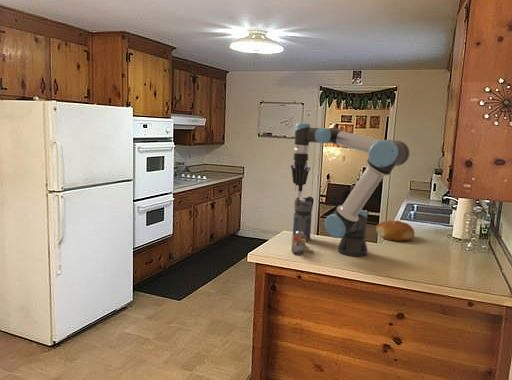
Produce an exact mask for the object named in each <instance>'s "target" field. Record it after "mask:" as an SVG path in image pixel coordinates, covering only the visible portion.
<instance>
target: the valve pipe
mask: <svg viewBox="0 0 512 380" xmlns="http://www.w3.org/2000/svg"><path fill="white" fill-rule="evenodd" d="M293 238H294V235H293V234H292V237H291V250H290V251H291V252H292V254H293V255H303V253H304V252H306V247H307V246H306V245H307V244H306V243H307V240H306V236H305V235H303V236H301V238H300V241H293Z"/></svg>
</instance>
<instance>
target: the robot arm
mask: <svg viewBox="0 0 512 380" xmlns="http://www.w3.org/2000/svg"><path fill="white" fill-rule="evenodd" d="M310 143H315V144H317V143H318V144H333V145H336V146H340V147H346V148H349V149H352V150H355V151H360V152H363V153H367V155H368V159H367V160H366V165H367V167H366V168H365V170H364V171H363V173H362V174H361V176H360V178H359V179H358V180H357V182H356V183H355V185H354V187H353V188H352V189H351V191H350V193H349V194H348V195H347V197H346V199H345V201H344V202H343V204H341V205H338V206H337V207H336V209H335V210H334V211H333V212H332V214H329V215H327V217H326V218H325V221H324V228H325V231H326V233H327V234H328V235H329V236H330V237H332V238H334V239H340V238H341V239H340V241H339V244H338V247H337V252H338V253H339V254H341V253H342V255H344V256H350V257H365V256H367V255H368V252H369V251H368V246H367V245H368V244H367V241H366V234H367V223H368V211H366V210H363V208H364V206H365V205H366V203H367V202H368V200H369V199H370V198H371V196H372V195H373V193H374V192H375V190H376V188H377V187H378V186H379V183H381V181H382V179H383V178H384V177H385V176H389V175H390V174H391V172H392V171H393V170H394V168H395V167H399V166H402V165H404V164H405V163H406V162H407V161H408V160H409V158H410V155H411V154H410V152H411V151H410V148H409V146H408V145H407V144H406V143H405V142H403V141H401V140H391V139H383V140H381V139H378V138H374V137H373V138H372V137H370V136H369V137H368V136H365V135H361V134H357V133H352V132H349V131H343V130H341V129H337V128H325V127H311V125H310V123H301V122H300V123H299V122H298V123H296V125H295V130H294V149H293V150H294V151H293V152H294V153H293V160H294V162H293V164H291V165H290V168H291V175H292V183H293V184H295V198H298V197H299V198H302V194H303V193H302V192H303V187H304V186H305V185H306V183H307V180H308V176H309V172H310V170H311V167H309V166H308V163H307V162H308V161H309V154H308V153H309V150H310V148H309V147H310Z"/></svg>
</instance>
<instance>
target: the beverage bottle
mask: <svg viewBox="0 0 512 380" xmlns="http://www.w3.org/2000/svg"><path fill="white" fill-rule="evenodd" d="M314 202H315V201H314V198H313V197H312V196H307V197H303V198H302V199H300V197H298V198H297V197H295V199H294V205H293V206H294V207H293V209H294V213H293V218H292V219H293V222H292V236H293V235H295V234H296V231H303V235H305V236H306V241H308V240H310V238H311V231H312V230H311V229H312V228H311V227H312V216H313V215H312V211H313V205H314Z"/></svg>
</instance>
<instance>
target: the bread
mask: <svg viewBox="0 0 512 380" xmlns="http://www.w3.org/2000/svg"><path fill="white" fill-rule="evenodd" d="M375 230H376V233H377V235H378V236H379V237H380V238H382V239H384V240H387V241H393V242H405V241H407V242H408V241H410V240H412V239H413V238H414V236H415V230H414V228H413V227H412V226H411V225H410V224H408V223H405V222H404V221H400V220H386V221H382V222H379V223H378V224H377V225H376V226H375Z"/></svg>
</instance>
